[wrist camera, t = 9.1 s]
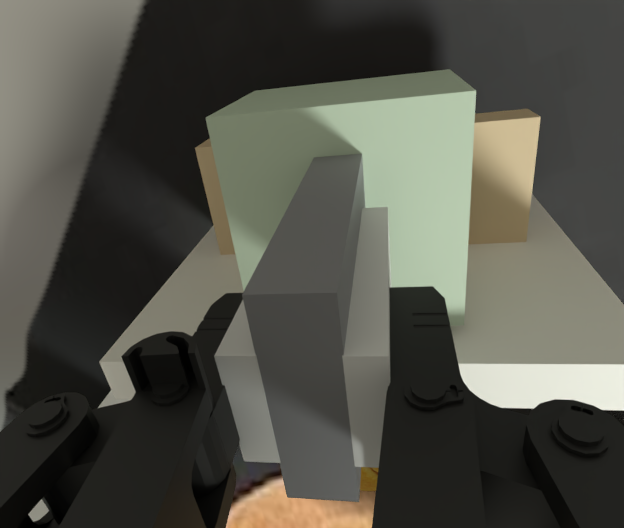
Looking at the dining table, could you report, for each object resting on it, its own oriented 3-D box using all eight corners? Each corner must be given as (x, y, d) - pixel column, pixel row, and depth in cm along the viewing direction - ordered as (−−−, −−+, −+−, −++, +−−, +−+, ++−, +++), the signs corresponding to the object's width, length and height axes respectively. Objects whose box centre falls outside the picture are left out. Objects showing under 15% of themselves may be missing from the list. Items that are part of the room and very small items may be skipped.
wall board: (541, 89, 25) (735, 178, 11) (522, 255, 30) (641, 462, 16) (206, 123, 29) (37, 221, 15) (238, 266, 34) (133, 441, 20)
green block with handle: (449, 69, 18) (590, 181, 5) (445, 250, 21) (522, 558, 9) (254, 90, 19) (23, 217, 7) (282, 256, 23) (163, 528, 11)
